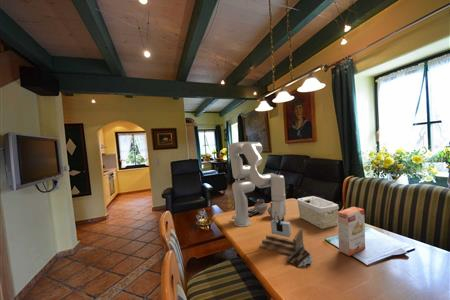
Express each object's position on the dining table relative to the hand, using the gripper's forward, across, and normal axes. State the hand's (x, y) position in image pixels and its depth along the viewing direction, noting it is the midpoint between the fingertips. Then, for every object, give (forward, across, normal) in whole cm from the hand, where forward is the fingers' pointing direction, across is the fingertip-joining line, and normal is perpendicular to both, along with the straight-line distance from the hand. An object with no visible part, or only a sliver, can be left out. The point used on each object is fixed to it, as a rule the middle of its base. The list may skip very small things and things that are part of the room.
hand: (280, 229), depth 107 cm
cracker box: (+10, -13, +33) cm, 37 cm away
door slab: (+3, 0, 0) cm, 3 cm away
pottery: (+9, -40, -25) cm, 48 cm away
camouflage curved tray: (+10, +10, +13) cm, 19 cm away
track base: (+9, 0, 0) cm, 9 cm away
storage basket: (+10, -43, +11) cm, 45 cm away
